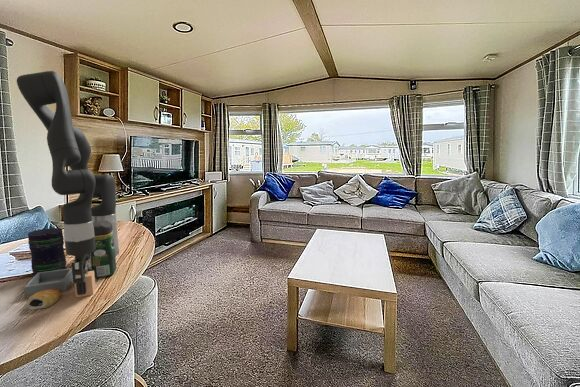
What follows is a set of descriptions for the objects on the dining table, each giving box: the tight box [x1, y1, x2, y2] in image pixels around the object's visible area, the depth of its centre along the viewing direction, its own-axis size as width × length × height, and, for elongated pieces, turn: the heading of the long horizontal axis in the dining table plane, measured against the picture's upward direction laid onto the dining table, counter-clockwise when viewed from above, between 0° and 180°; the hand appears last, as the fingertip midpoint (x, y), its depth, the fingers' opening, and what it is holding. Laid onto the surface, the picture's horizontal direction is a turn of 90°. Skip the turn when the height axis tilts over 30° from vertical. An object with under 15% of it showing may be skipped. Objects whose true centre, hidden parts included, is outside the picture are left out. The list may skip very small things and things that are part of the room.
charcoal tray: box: [23, 267, 73, 298], centre depth 101 cm, size 12×10×3 cm
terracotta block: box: [73, 271, 97, 298], centre depth 96 cm, size 4×4×6 cm
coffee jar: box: [90, 221, 117, 279], centre depth 110 cm, size 10×8×19 cm
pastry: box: [24, 289, 62, 311], centre depth 91 cm, size 9×7×4 cm
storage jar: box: [27, 227, 68, 277], centre depth 112 cm, size 10×10×15 cm
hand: (84, 288), depth 96 cm, fingers open, 8 cm apart
